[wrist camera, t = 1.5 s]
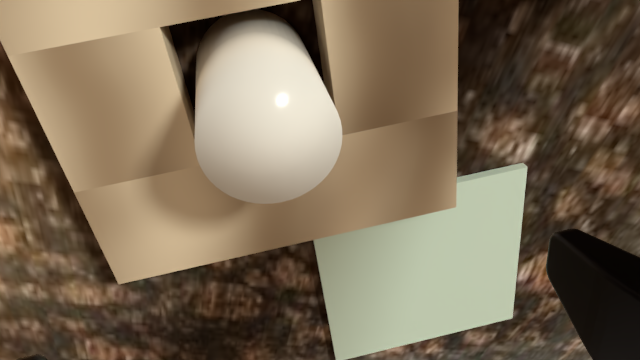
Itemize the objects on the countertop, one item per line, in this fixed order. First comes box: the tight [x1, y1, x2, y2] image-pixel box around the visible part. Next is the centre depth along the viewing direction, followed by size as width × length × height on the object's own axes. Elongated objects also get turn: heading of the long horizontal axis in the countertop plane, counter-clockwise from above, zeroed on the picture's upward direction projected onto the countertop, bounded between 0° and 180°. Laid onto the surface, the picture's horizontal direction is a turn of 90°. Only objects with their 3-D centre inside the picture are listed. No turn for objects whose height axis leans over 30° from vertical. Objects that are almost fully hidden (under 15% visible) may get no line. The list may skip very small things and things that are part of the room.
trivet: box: [313, 163, 527, 360], centre depth 26 cm, size 10×10×1 cm
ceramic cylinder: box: [194, 9, 342, 204], centre depth 17 cm, size 4×4×6 cm
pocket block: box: [0, 0, 459, 284], centre depth 19 cm, size 14×14×2 cm
